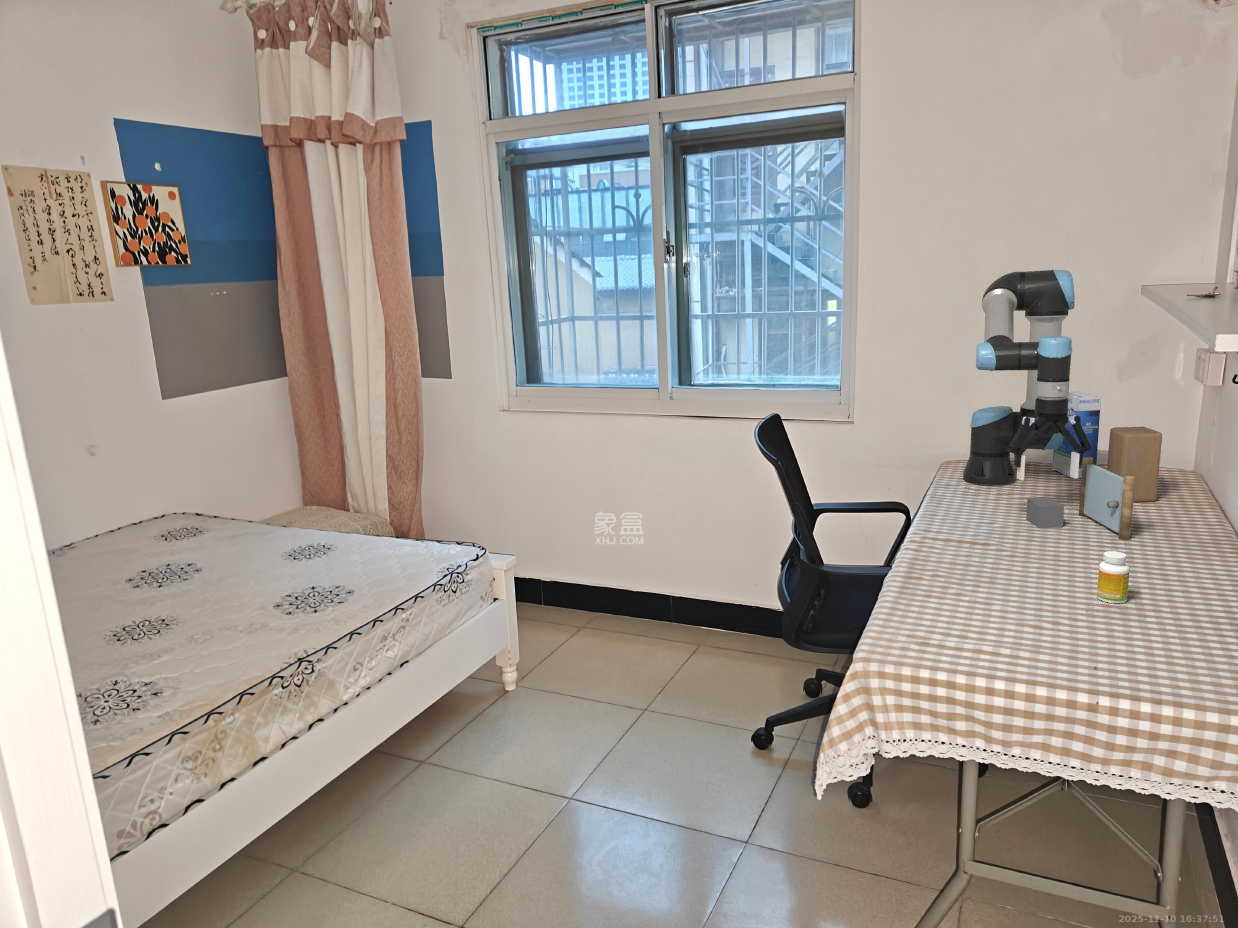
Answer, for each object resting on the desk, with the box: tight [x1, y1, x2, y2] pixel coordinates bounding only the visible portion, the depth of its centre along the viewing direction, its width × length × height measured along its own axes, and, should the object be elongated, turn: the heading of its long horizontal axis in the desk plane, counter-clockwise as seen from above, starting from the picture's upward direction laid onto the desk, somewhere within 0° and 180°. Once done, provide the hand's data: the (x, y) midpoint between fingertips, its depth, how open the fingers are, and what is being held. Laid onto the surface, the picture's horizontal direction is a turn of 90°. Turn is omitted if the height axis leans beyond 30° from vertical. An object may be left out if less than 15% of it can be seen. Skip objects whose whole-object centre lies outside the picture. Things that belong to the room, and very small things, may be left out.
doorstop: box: [1025, 497, 1065, 529], centre depth 220 cm, size 8×6×6 cm
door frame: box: [1078, 457, 1135, 541], centre depth 214 cm, size 23×2×16 cm, turn 177°
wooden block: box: [1106, 426, 1163, 503], centre depth 237 cm, size 10×10×20 cm
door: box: [1084, 464, 1124, 533], centre depth 214 cm, size 17×4×14 cm, turn 177°
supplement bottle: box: [1096, 550, 1130, 604], centre depth 170 cm, size 5×5×10 cm
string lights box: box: [1052, 391, 1102, 480], centre depth 266 cm, size 13×8×26 cm, turn 1°
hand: (1047, 478), depth 218 cm, fingers open, 13 cm apart
